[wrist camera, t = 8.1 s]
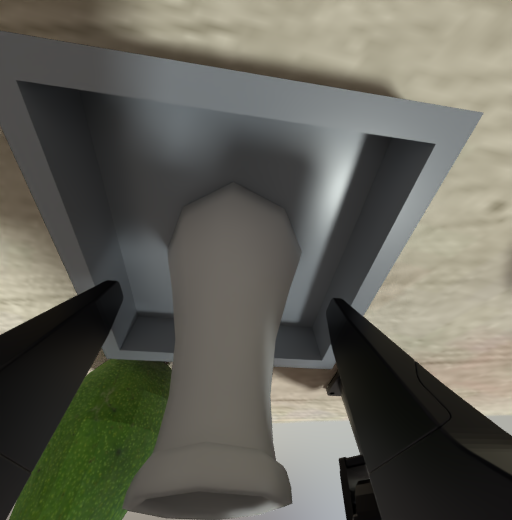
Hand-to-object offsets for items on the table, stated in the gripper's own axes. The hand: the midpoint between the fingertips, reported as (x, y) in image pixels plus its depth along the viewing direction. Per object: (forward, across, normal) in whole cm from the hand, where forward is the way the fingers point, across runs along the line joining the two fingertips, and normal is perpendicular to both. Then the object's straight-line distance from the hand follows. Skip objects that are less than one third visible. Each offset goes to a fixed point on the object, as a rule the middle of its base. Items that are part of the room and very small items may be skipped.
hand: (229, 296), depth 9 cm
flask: (+4, 0, 0) cm, 4 cm away
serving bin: (+5, 0, 0) cm, 5 cm away
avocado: (+5, +8, +14) cm, 16 cm away
